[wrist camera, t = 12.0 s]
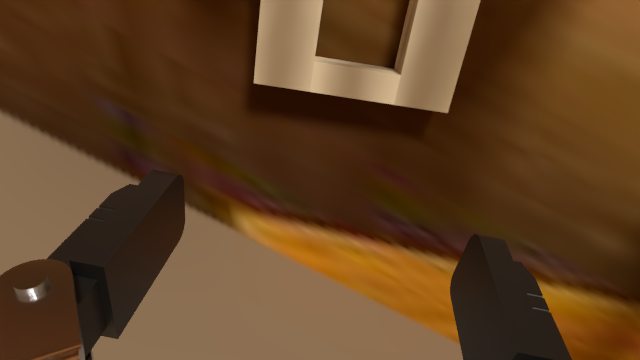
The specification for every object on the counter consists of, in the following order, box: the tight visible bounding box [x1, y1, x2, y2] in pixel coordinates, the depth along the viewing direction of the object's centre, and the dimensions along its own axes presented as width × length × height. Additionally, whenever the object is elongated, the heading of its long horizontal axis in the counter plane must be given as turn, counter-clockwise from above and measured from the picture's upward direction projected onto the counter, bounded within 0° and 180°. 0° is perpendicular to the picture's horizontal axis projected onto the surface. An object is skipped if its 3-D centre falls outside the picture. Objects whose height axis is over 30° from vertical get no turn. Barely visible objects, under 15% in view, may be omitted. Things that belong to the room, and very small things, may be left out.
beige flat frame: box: [254, 0, 481, 113], centre depth 29 cm, size 15×13×3 cm
